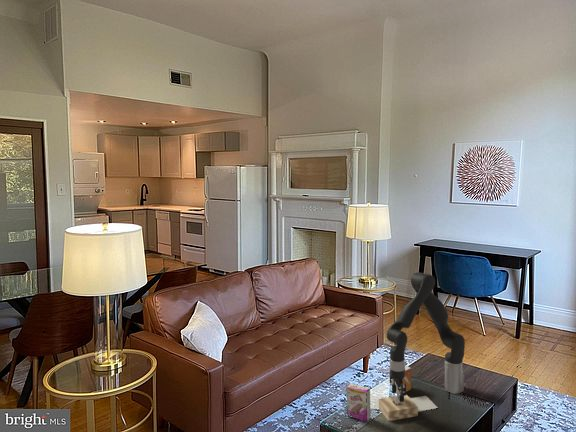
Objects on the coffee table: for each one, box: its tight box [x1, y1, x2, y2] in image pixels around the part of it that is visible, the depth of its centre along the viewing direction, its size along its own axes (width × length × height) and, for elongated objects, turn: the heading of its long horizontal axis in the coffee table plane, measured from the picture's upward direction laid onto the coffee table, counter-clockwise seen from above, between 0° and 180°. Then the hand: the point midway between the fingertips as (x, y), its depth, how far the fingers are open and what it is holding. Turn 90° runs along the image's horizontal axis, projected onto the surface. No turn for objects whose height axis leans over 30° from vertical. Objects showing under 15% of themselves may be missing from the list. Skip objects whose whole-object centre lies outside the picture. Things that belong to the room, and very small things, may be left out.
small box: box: [396, 364, 412, 393], centre depth 244 cm, size 8×6×13 cm
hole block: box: [378, 393, 419, 422], centre depth 223 cm, size 16×12×5 cm
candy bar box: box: [346, 382, 371, 423], centre depth 219 cm, size 11×5×16 cm, turn 59°
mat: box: [409, 395, 439, 413], centre depth 229 cm, size 12×12×1 cm
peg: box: [394, 391, 401, 406], centre depth 223 cm, size 3×3×10 cm
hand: (397, 397), depth 222 cm, fingers open, 8 cm apart
